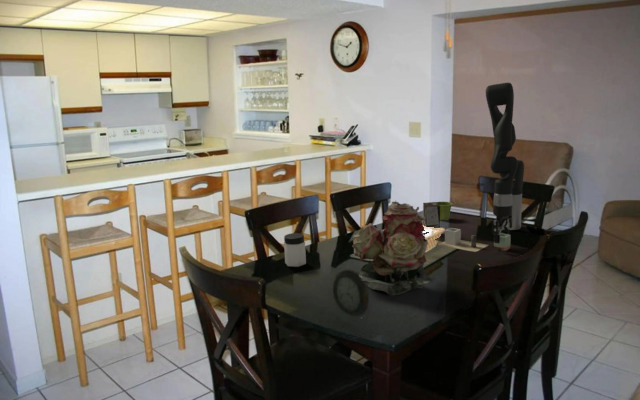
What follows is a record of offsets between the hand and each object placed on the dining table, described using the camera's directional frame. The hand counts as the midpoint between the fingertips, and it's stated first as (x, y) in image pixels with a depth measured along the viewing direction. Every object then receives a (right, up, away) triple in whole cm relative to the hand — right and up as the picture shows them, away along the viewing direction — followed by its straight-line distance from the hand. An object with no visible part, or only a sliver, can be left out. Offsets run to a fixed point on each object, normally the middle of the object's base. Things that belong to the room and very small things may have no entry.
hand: (501, 240), depth 223 cm
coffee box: (-25, 0, +21) cm, 33 cm away
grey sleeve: (-19, -2, +8) cm, 20 cm away
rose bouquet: (-50, -13, -31) cm, 60 cm away
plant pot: (-13, +7, +53) cm, 55 cm away
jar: (-88, -9, -6) cm, 88 cm away
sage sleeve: (+1, -3, +1) cm, 4 cm away
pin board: (-15, -3, +5) cm, 16 cm away
